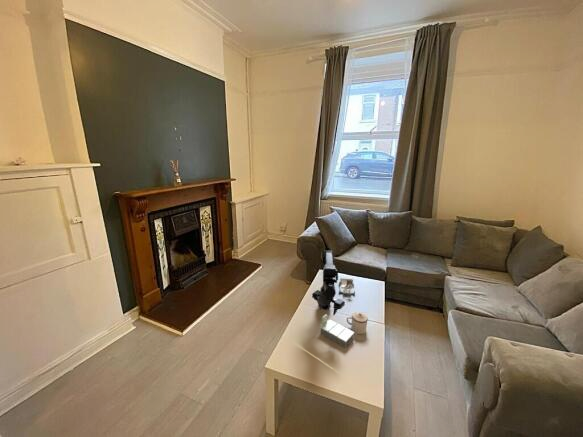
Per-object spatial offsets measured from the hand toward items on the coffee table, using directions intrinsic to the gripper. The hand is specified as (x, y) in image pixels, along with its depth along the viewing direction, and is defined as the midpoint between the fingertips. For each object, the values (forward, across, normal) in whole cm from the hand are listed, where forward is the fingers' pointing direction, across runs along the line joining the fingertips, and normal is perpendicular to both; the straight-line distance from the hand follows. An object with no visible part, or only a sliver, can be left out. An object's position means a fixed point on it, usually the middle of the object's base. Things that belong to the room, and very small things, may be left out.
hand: (327, 312), depth 144 cm
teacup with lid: (+12, +14, +12) cm, 22 cm away
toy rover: (+13, -11, +49) cm, 52 cm away
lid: (+8, +7, -1) cm, 11 cm away
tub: (+12, +8, -1) cm, 15 cm away
